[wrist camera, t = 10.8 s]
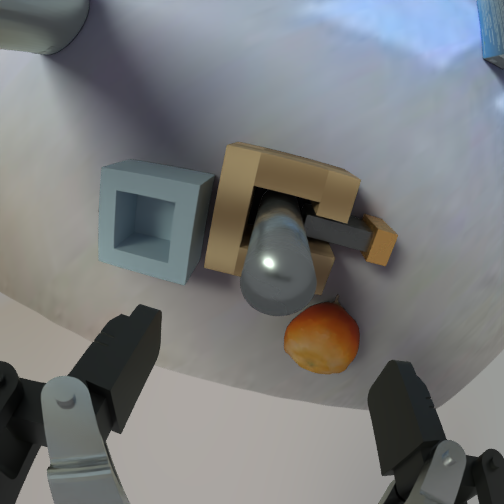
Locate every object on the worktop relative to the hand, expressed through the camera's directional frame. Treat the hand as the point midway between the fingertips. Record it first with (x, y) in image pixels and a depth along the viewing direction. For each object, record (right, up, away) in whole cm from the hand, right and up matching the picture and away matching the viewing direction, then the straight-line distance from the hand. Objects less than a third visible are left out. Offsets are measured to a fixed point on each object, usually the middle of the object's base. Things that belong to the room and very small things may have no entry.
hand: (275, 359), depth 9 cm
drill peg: (+2, +8, +18) cm, 20 cm away
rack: (-10, +8, +19) cm, 23 cm away
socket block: (+2, +8, +18) cm, 20 cm away
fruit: (+7, -4, +23) cm, 25 cm away
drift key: (+8, +6, +18) cm, 21 cm away
